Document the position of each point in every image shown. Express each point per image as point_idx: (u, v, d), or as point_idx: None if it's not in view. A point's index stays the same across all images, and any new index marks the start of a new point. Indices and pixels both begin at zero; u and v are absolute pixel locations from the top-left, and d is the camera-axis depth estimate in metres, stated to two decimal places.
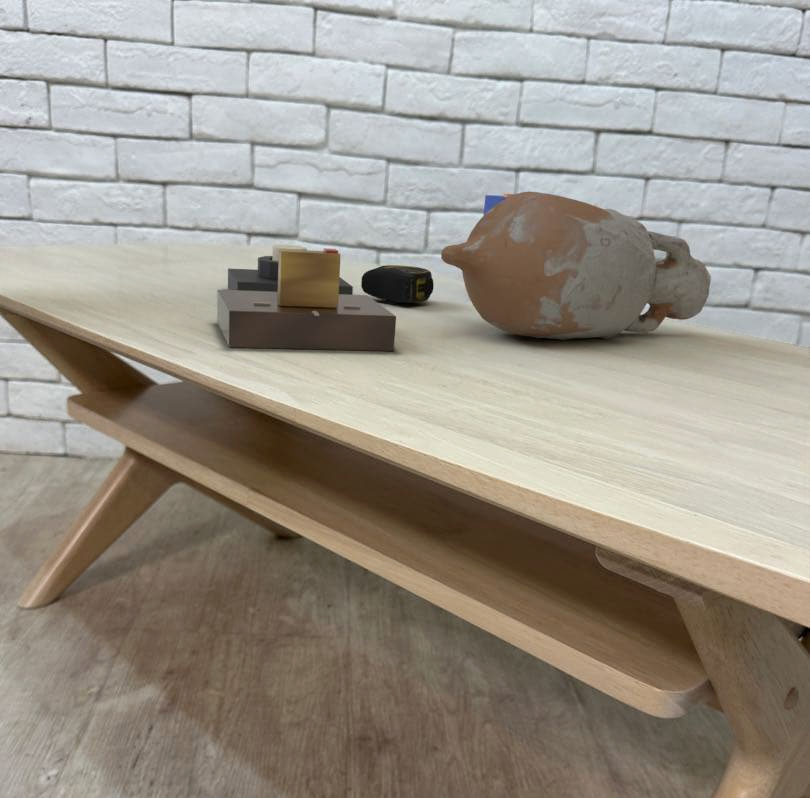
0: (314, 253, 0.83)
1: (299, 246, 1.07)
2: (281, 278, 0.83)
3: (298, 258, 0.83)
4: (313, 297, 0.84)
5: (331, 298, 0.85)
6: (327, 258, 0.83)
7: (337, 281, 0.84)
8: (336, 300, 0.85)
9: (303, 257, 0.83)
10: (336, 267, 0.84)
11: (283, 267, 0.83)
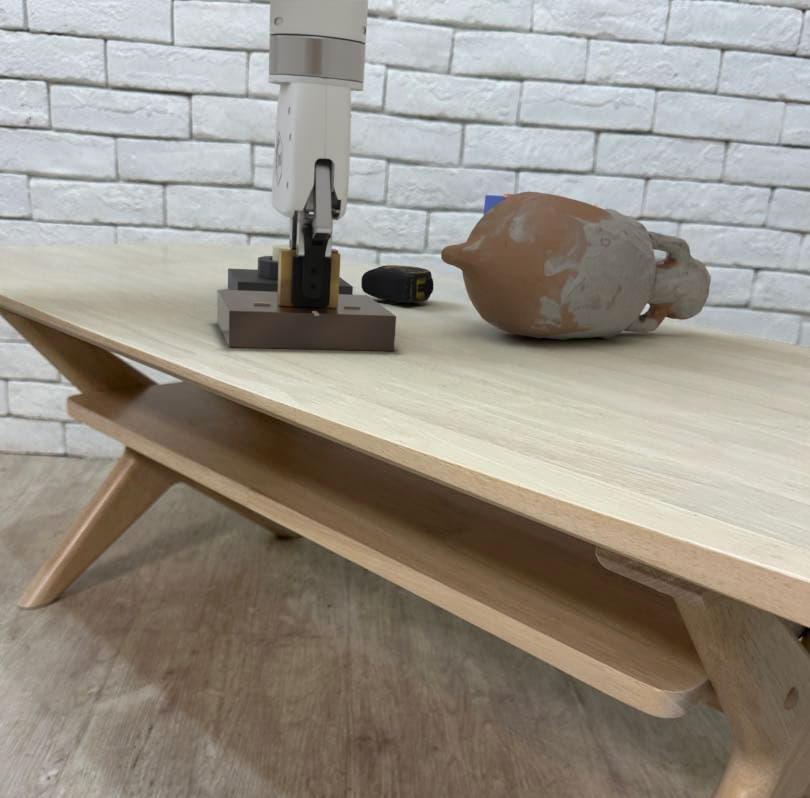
0: None
1: None
2: (281, 278, 0.83)
3: None
4: None
5: (331, 298, 0.85)
6: None
7: (337, 281, 0.84)
8: (336, 300, 0.85)
9: None
10: (336, 267, 0.84)
11: (283, 267, 0.83)
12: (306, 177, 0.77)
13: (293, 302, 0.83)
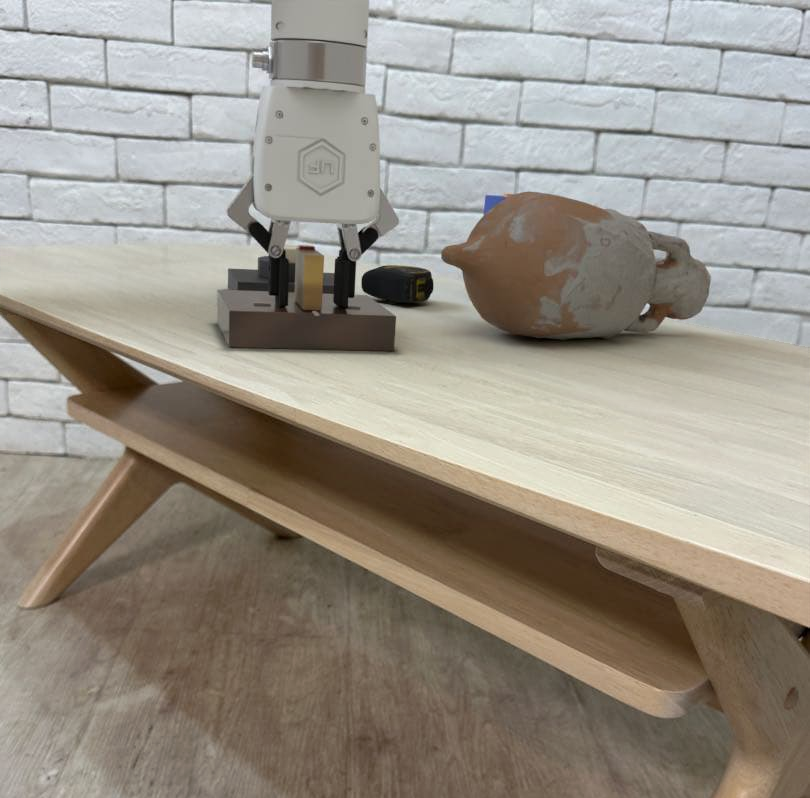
0: (317, 252, 0.84)
1: None
2: (322, 283, 0.83)
3: None
4: None
5: None
6: None
7: None
8: None
9: None
10: None
11: None
12: None
13: (347, 305, 0.85)
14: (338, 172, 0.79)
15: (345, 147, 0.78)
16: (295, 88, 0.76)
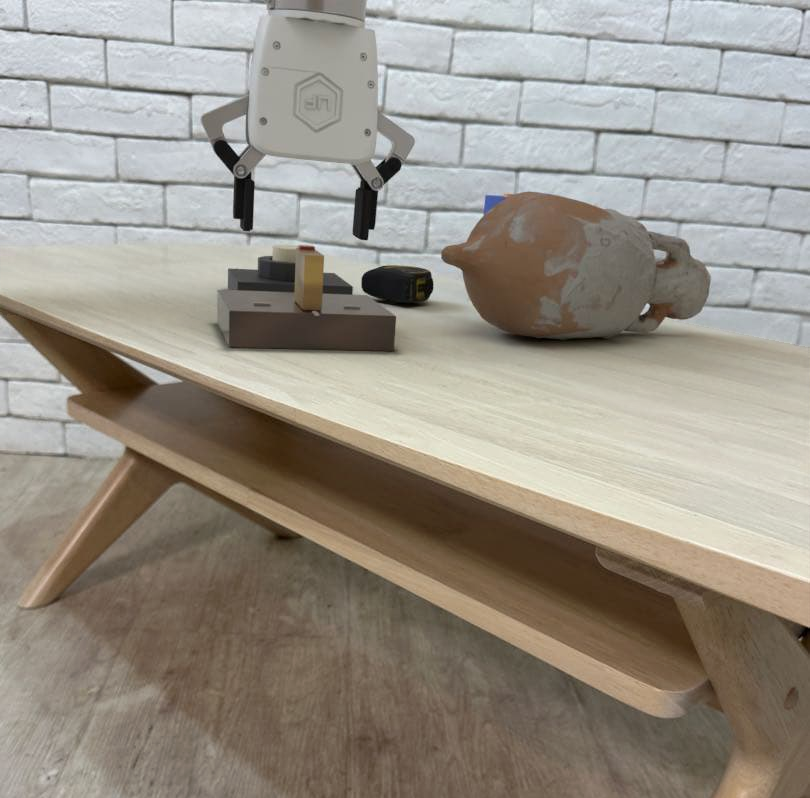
0: (317, 252, 0.84)
1: None
2: (322, 283, 0.83)
3: None
4: None
5: None
6: None
7: None
8: None
9: None
10: None
11: None
12: None
13: (367, 236, 0.83)
14: (335, 109, 0.77)
15: (343, 83, 0.77)
16: (293, 19, 0.74)
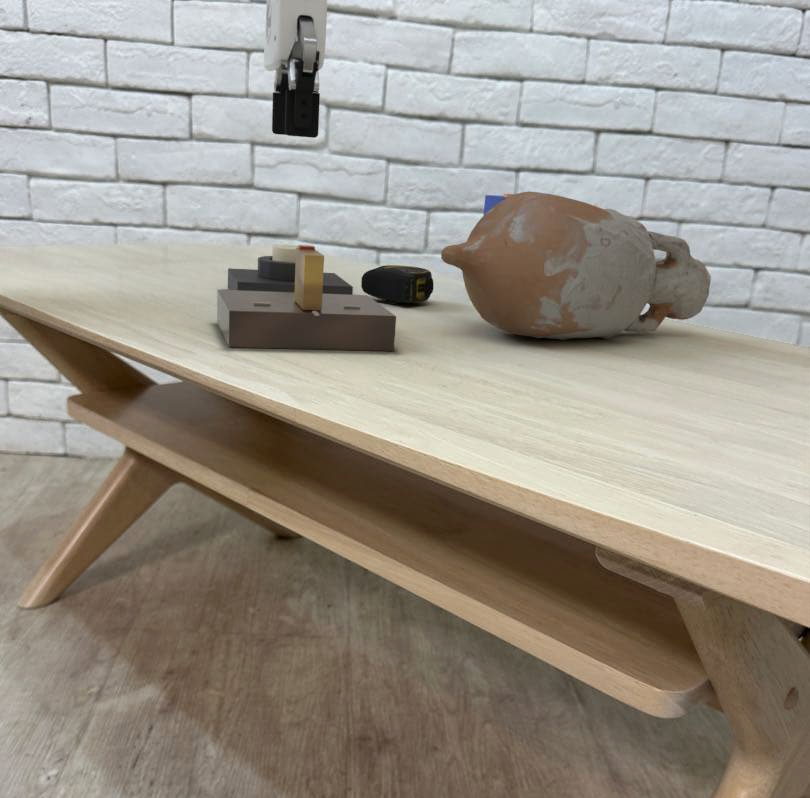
0: (317, 252, 0.84)
1: None
2: (322, 283, 0.83)
3: None
4: None
5: None
6: None
7: None
8: None
9: None
10: None
11: None
12: (290, 30, 0.93)
13: (286, 131, 0.96)
14: (271, 23, 0.96)
15: (271, 1, 0.95)
16: None
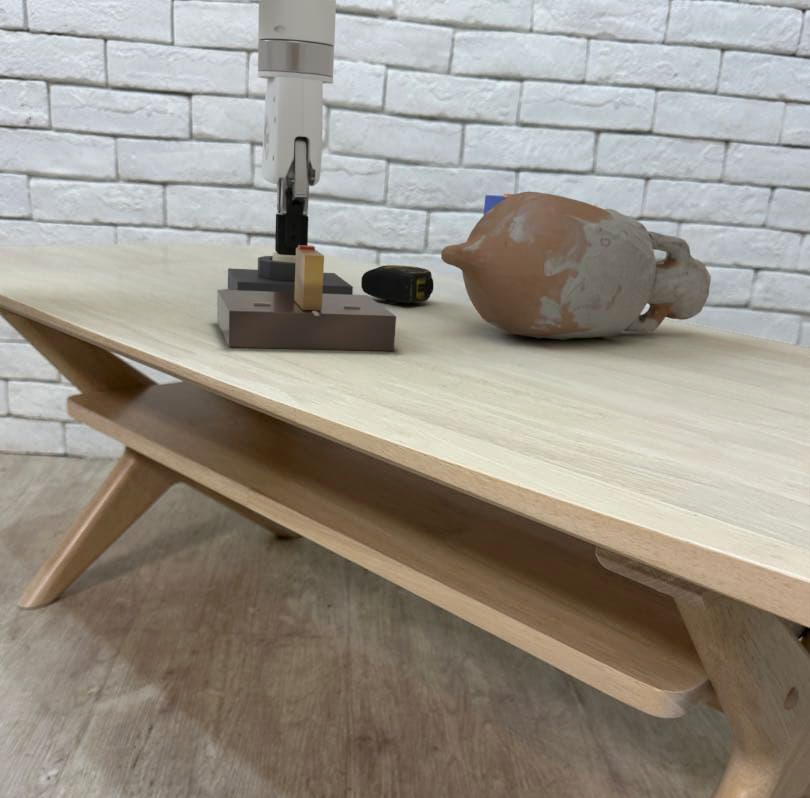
0: (317, 252, 0.84)
1: None
2: (322, 283, 0.83)
3: None
4: None
5: None
6: None
7: None
8: None
9: None
10: None
11: None
12: (287, 151, 0.98)
13: (278, 251, 1.05)
14: (269, 141, 1.00)
15: (269, 121, 0.99)
16: (267, 79, 1.01)
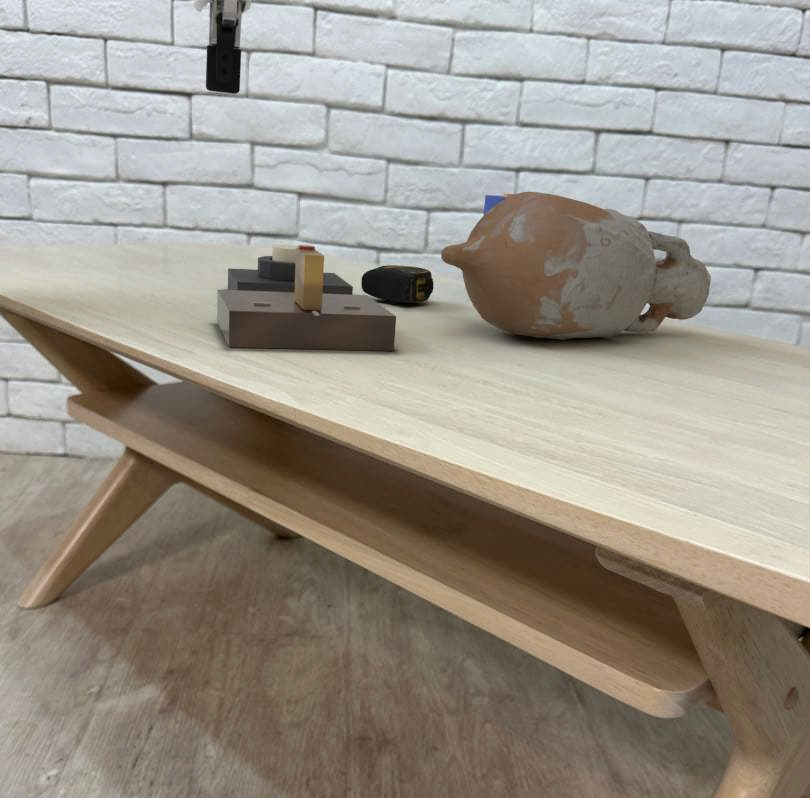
0: (317, 252, 0.84)
1: None
2: (322, 283, 0.83)
3: None
4: None
5: None
6: None
7: None
8: None
9: None
10: None
11: None
12: None
13: (208, 86, 0.98)
14: None
15: None
16: None
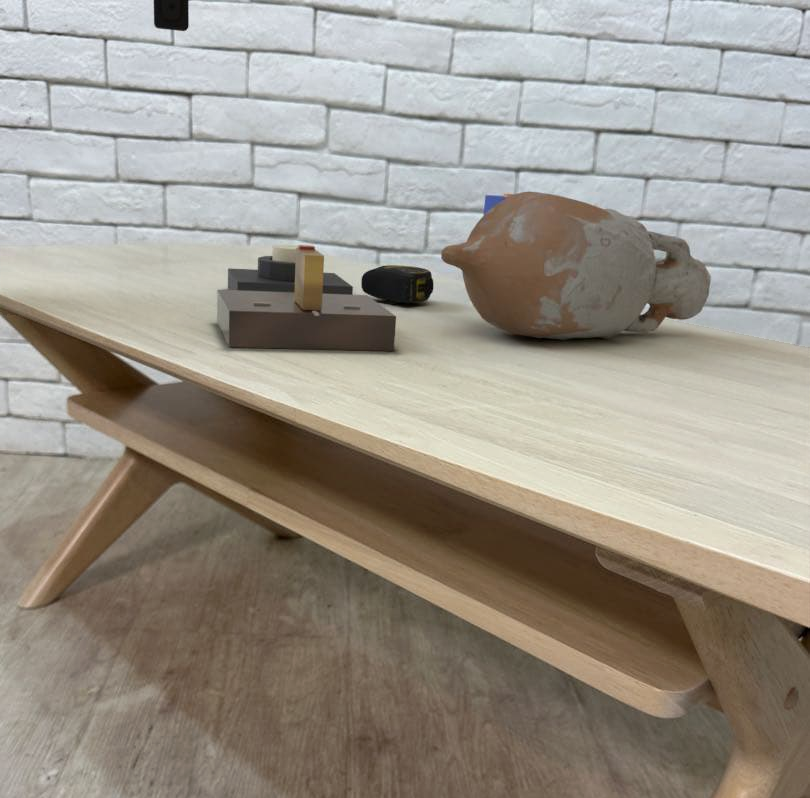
0: (317, 252, 0.84)
1: None
2: (322, 283, 0.83)
3: None
4: None
5: None
6: None
7: None
8: None
9: None
10: None
11: None
12: None
13: (156, 23, 0.96)
14: None
15: None
16: None
